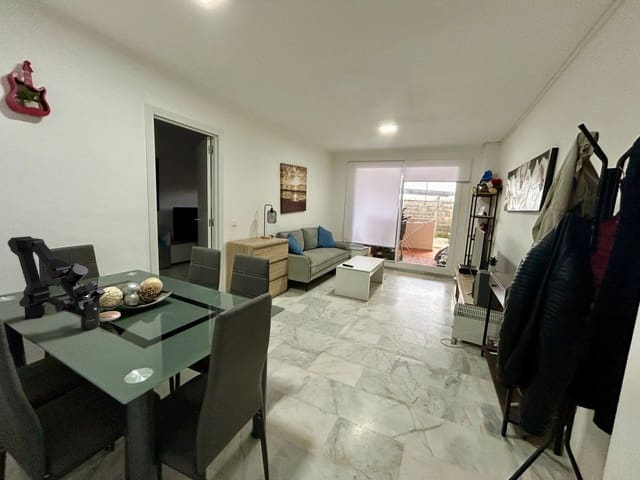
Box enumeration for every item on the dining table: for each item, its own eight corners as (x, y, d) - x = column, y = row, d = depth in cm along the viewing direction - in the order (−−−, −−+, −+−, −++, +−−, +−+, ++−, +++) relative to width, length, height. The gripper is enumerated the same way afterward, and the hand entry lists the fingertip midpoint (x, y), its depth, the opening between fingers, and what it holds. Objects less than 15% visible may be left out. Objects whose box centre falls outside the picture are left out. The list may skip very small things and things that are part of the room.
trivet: (93, 322, 129) (93, 320, 129) (97, 314, 138) (97, 312, 138) (118, 319, 134) (118, 317, 134) (121, 312, 143) (121, 310, 143)
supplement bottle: (88, 331, 121) (87, 306, 119) (76, 329, 122) (75, 303, 121) (103, 325, 128) (103, 301, 126) (92, 322, 129) (91, 298, 127)
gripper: (58, 282, 114) (81, 311, 113) (102, 272, 132) (121, 297, 131) (45, 298, 116) (66, 326, 115) (89, 286, 134) (108, 310, 134)
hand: (92, 313), depth 124 cm, fingers closed on supplement bottle, 6 cm apart
